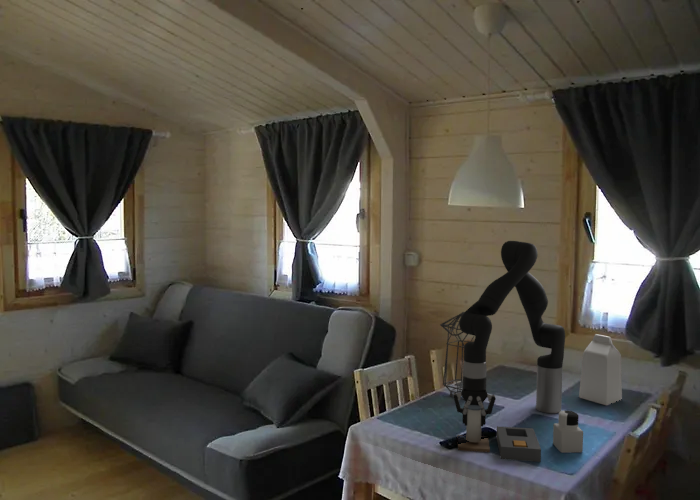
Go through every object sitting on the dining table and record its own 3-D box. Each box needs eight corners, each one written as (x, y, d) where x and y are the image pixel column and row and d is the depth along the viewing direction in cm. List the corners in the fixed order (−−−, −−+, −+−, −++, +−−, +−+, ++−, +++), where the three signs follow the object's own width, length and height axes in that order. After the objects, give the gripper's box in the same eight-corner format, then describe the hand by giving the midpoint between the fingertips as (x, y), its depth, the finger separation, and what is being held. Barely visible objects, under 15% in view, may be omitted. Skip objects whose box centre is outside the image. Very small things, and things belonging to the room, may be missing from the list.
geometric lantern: (436, 396, 245) (437, 312, 243) (456, 388, 257) (458, 307, 255) (470, 404, 235) (471, 316, 233) (489, 395, 246) (491, 311, 244)
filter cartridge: (465, 435, 199) (465, 400, 198) (481, 436, 198) (481, 401, 197) (465, 442, 194) (466, 406, 193) (482, 443, 193) (482, 407, 192)
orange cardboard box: (513, 452, 189) (513, 440, 189) (524, 453, 189) (525, 440, 188) (514, 457, 186) (514, 444, 185) (526, 458, 185) (526, 445, 185)
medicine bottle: (573, 443, 197) (575, 408, 196) (582, 452, 190) (584, 416, 189) (552, 444, 197) (553, 408, 196) (560, 453, 190) (562, 416, 189)
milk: (578, 397, 244) (580, 334, 242) (594, 392, 251) (596, 331, 249) (606, 405, 234) (608, 340, 232) (621, 399, 241) (624, 336, 239)
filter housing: (496, 437, 202) (496, 426, 202) (533, 440, 200) (533, 428, 200) (500, 459, 185) (501, 446, 185) (540, 461, 183) (541, 449, 183)
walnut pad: (457, 438, 202) (457, 435, 202) (487, 440, 200) (487, 437, 200) (458, 450, 192) (458, 447, 192) (489, 452, 190) (489, 449, 190)
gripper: (496, 372, 197) (495, 422, 198) (452, 370, 199) (451, 419, 200) (498, 378, 189) (497, 430, 191) (452, 376, 192) (451, 428, 193)
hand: (473, 424), depth 195 cm, fingers closed on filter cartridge, 4 cm apart
